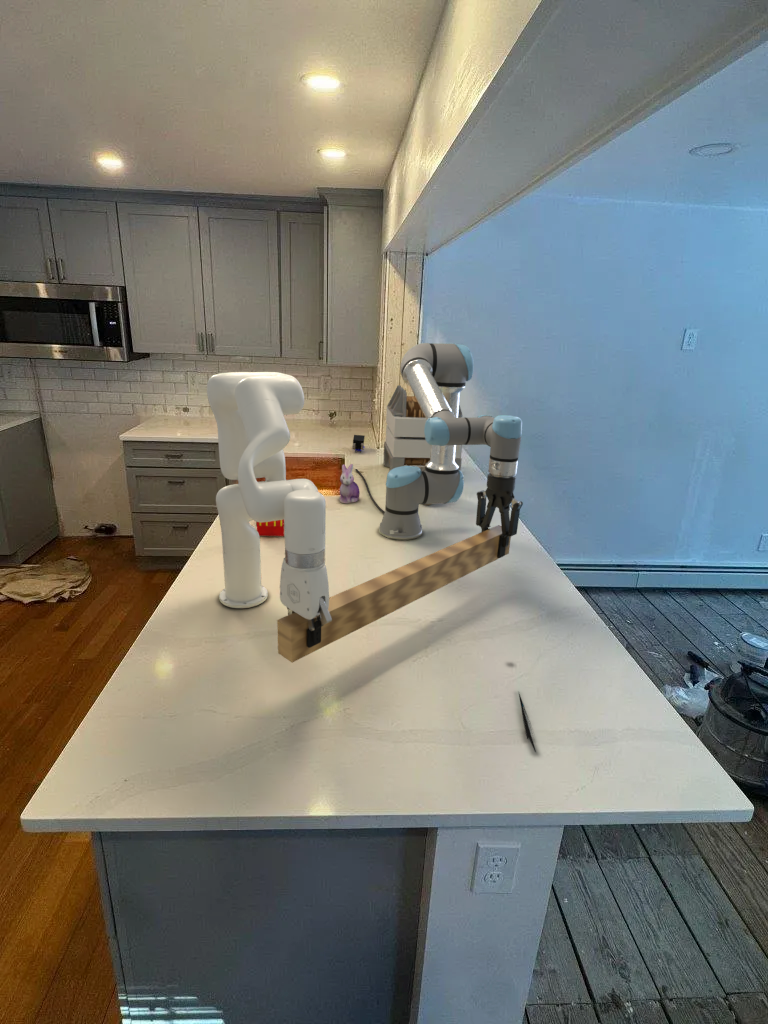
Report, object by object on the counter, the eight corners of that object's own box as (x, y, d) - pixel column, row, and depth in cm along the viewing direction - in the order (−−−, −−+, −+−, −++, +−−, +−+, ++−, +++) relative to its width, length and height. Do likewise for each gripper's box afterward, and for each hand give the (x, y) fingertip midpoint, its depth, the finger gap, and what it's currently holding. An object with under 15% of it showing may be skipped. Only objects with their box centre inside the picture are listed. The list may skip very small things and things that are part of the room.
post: (495, 548, 165) (498, 524, 163) (508, 553, 162) (511, 529, 160) (277, 653, 111) (277, 619, 109) (291, 662, 109) (291, 628, 106)
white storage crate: (382, 463, 289) (386, 382, 275) (445, 464, 293) (451, 384, 279) (390, 482, 257) (394, 392, 243) (460, 483, 261) (468, 394, 247)
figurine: (343, 505, 225) (344, 468, 220) (333, 497, 234) (334, 462, 229) (364, 502, 230) (366, 466, 225) (354, 495, 238) (355, 460, 233)
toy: (297, 484, 217) (286, 498, 188) (297, 518, 220) (286, 537, 190) (265, 483, 217) (250, 497, 187) (266, 517, 219) (250, 537, 190)
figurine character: (364, 456, 306) (364, 446, 320) (364, 442, 303) (365, 433, 317) (351, 455, 306) (352, 446, 320) (352, 442, 303) (353, 433, 316)
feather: (511, 668, 129) (516, 662, 128) (535, 756, 102) (542, 749, 102) (505, 664, 129) (510, 658, 128) (527, 751, 102) (534, 744, 101)
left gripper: (262, 547, 109) (264, 629, 116) (318, 576, 99) (318, 665, 105) (293, 537, 115) (294, 616, 121) (350, 564, 104) (348, 649, 110)
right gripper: (467, 469, 155) (460, 547, 163) (523, 484, 144) (512, 567, 152) (483, 465, 160) (475, 541, 168) (538, 479, 149) (527, 559, 157)
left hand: (305, 638), depth 113 cm, fingers closed on post, 4 cm apart
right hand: (493, 553), depth 160 cm, fingers closed on post, 4 cm apart
